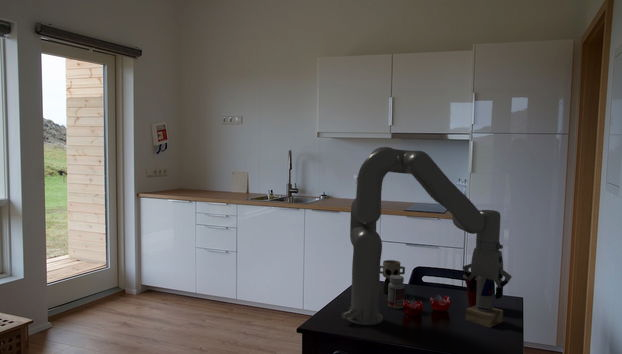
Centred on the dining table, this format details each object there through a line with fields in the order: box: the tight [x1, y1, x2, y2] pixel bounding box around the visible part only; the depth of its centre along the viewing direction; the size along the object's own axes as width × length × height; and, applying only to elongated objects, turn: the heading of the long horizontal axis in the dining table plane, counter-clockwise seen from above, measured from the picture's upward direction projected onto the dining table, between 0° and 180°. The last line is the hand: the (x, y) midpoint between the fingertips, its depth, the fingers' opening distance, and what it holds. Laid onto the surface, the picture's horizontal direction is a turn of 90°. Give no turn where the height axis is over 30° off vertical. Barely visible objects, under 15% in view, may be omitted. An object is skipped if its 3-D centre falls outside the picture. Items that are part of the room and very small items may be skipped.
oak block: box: [465, 305, 504, 328], centre depth 166 cm, size 9×9×4 cm
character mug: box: [380, 259, 406, 294], centre depth 196 cm, size 11×7×13 cm, turn 86°
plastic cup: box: [462, 274, 477, 308], centre depth 182 cm, size 11×11×12 cm
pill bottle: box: [387, 274, 406, 310], centre depth 179 cm, size 6×6×11 cm
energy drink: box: [476, 276, 495, 312], centre depth 165 cm, size 5×5×12 cm
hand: (485, 294), depth 165 cm, fingers open, 9 cm apart
